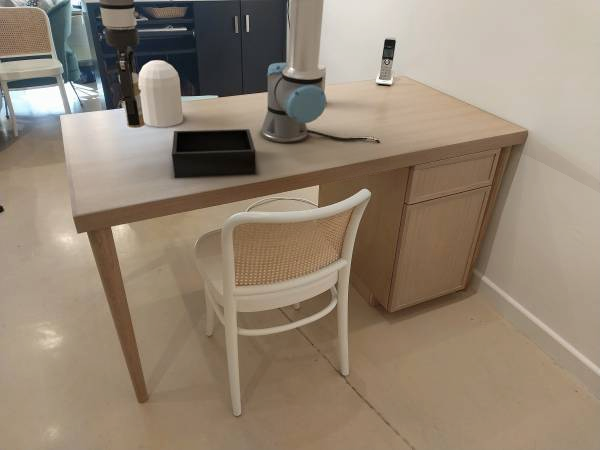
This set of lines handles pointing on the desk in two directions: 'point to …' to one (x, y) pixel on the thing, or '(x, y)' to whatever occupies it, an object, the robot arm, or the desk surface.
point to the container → (160, 94)
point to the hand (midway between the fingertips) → (135, 121)
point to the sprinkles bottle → (139, 104)
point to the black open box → (213, 153)
